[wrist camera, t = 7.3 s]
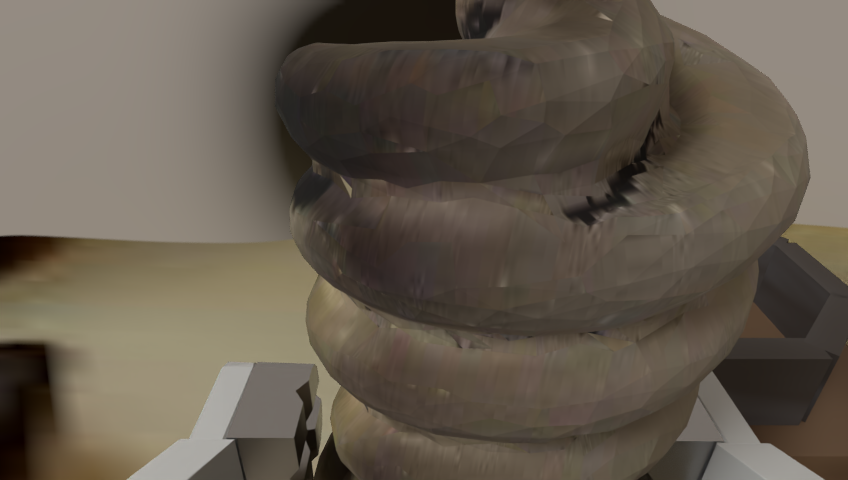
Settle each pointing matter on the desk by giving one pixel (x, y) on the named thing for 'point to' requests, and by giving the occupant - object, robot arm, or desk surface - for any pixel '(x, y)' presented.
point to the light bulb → (531, 235)
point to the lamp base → (794, 361)
